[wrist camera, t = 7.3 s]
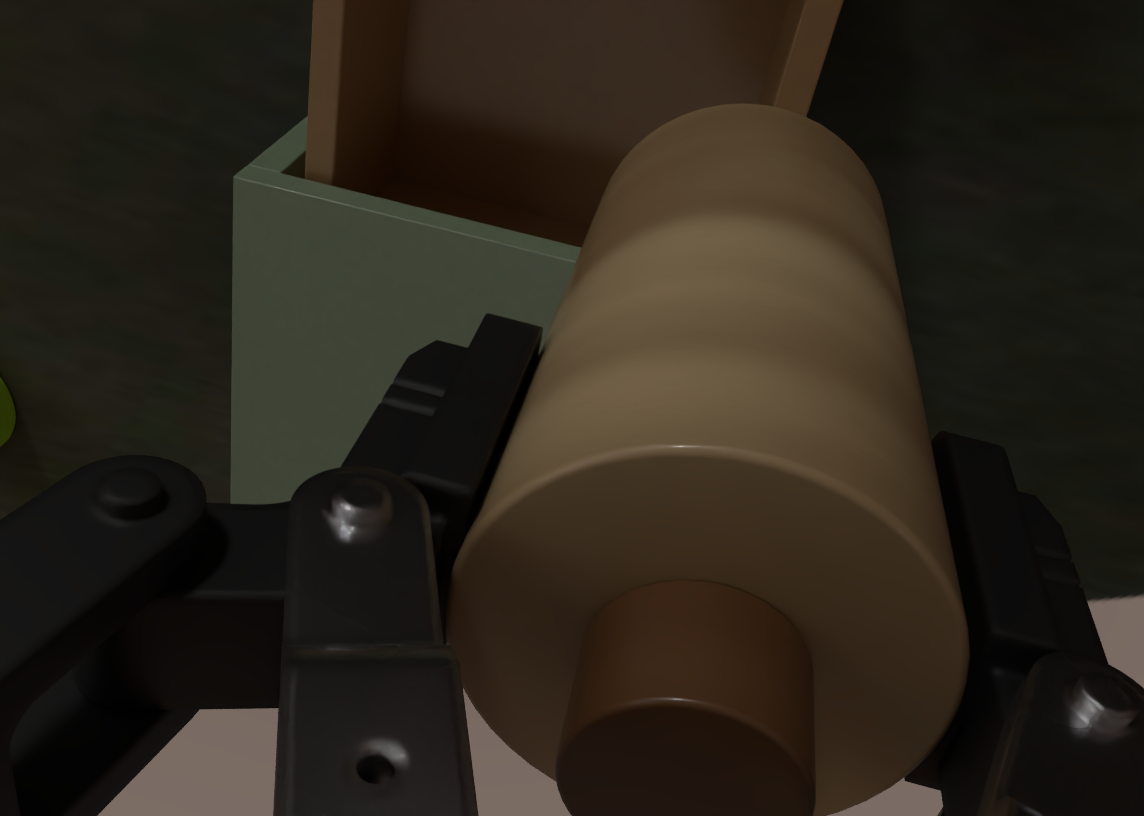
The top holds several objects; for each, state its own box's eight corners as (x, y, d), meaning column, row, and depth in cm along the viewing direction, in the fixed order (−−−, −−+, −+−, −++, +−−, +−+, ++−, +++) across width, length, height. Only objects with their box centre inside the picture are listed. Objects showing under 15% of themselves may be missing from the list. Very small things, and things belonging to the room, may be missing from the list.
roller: (559, 145, 18) (299, 607, 8) (858, 65, 17) (952, 520, 7) (639, 390, 20) (507, 970, 11) (907, 340, 19) (1029, 964, 9)
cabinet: (352, 78, 34) (232, 176, 27) (801, 187, 34) (807, 319, 26) (326, 442, 42) (229, 595, 35) (686, 534, 42) (665, 709, 34)
